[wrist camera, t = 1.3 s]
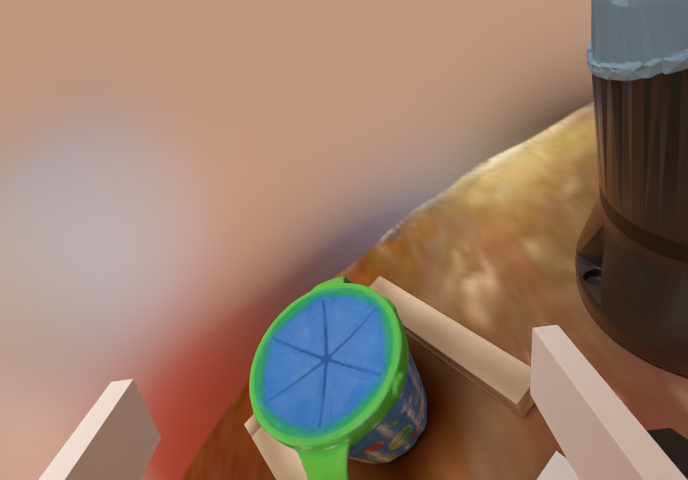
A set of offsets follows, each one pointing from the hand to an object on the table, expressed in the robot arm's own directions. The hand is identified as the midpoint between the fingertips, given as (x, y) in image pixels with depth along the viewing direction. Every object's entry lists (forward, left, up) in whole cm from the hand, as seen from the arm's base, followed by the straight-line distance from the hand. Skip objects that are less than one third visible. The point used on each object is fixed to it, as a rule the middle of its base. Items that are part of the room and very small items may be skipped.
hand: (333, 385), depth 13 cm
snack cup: (0, -8, -18) cm, 20 cm away
